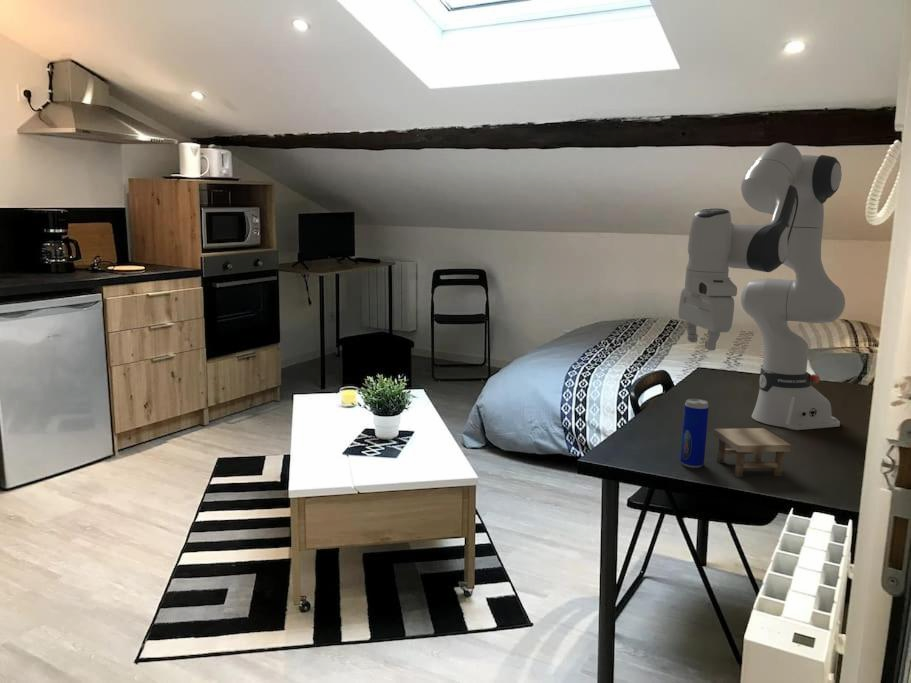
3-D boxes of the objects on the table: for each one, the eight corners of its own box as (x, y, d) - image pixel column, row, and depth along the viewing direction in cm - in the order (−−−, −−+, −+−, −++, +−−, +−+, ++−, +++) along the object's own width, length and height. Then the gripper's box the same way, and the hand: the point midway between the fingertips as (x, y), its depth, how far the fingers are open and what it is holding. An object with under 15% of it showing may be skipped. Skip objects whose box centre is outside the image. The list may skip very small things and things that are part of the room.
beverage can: (676, 460, 172) (681, 398, 169) (698, 460, 172) (703, 398, 169) (685, 468, 167) (690, 404, 164) (707, 468, 167) (712, 404, 164)
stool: (760, 458, 174) (763, 428, 173) (787, 477, 162) (791, 444, 161) (711, 459, 173) (714, 428, 171) (735, 478, 161) (738, 445, 160)
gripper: (673, 278, 172) (669, 337, 174) (712, 288, 152) (706, 354, 154) (700, 279, 172) (695, 337, 175) (741, 289, 152) (735, 354, 155)
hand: (700, 345), depth 164 cm, fingers open, 8 cm apart
